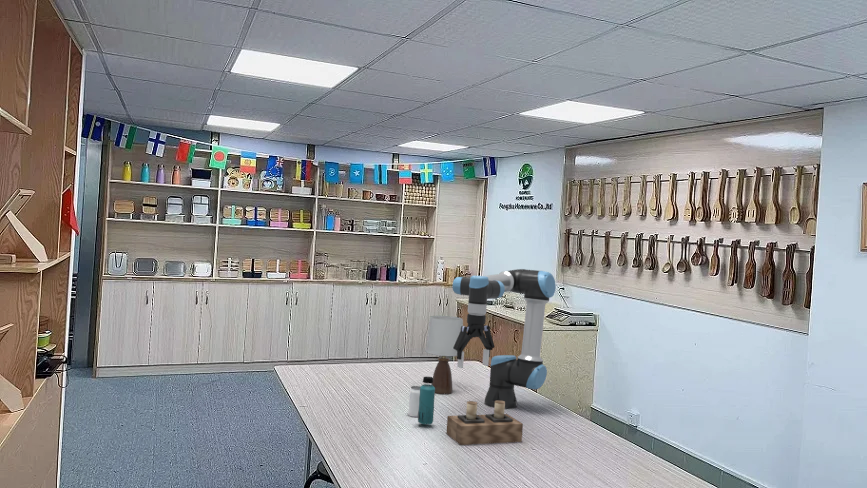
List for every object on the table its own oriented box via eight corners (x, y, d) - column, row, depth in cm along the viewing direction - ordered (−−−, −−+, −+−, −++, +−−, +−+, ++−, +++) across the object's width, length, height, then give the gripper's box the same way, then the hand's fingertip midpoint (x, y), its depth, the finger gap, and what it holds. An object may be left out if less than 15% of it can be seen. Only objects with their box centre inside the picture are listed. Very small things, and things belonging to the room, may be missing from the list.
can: (421, 418, 278) (423, 390, 277) (406, 416, 279) (408, 388, 279) (424, 414, 284) (426, 386, 284) (410, 412, 285) (411, 385, 285)
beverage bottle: (435, 425, 269) (438, 376, 269) (429, 429, 263) (433, 379, 262) (420, 422, 271) (423, 374, 271) (414, 426, 265) (418, 377, 265)
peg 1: (473, 420, 257) (474, 400, 257) (477, 423, 253) (479, 403, 253) (464, 421, 255) (465, 401, 255) (468, 424, 252) (469, 403, 252)
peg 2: (500, 419, 261) (502, 400, 261) (505, 422, 257) (506, 402, 257) (491, 420, 260) (493, 400, 259) (496, 423, 256) (497, 403, 256)
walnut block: (505, 430, 267) (506, 411, 267) (521, 441, 254) (523, 421, 254) (446, 433, 258) (447, 413, 258) (460, 445, 245) (461, 423, 245)
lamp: (467, 394, 325) (472, 320, 324) (436, 397, 314) (441, 321, 314) (445, 386, 340) (450, 315, 340) (415, 388, 330) (420, 315, 329)
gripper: (492, 312, 275) (489, 362, 275) (446, 313, 260) (443, 366, 260) (505, 314, 269) (501, 366, 269) (459, 315, 254) (455, 370, 254)
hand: (472, 366), depth 265 cm, fingers open, 13 cm apart
